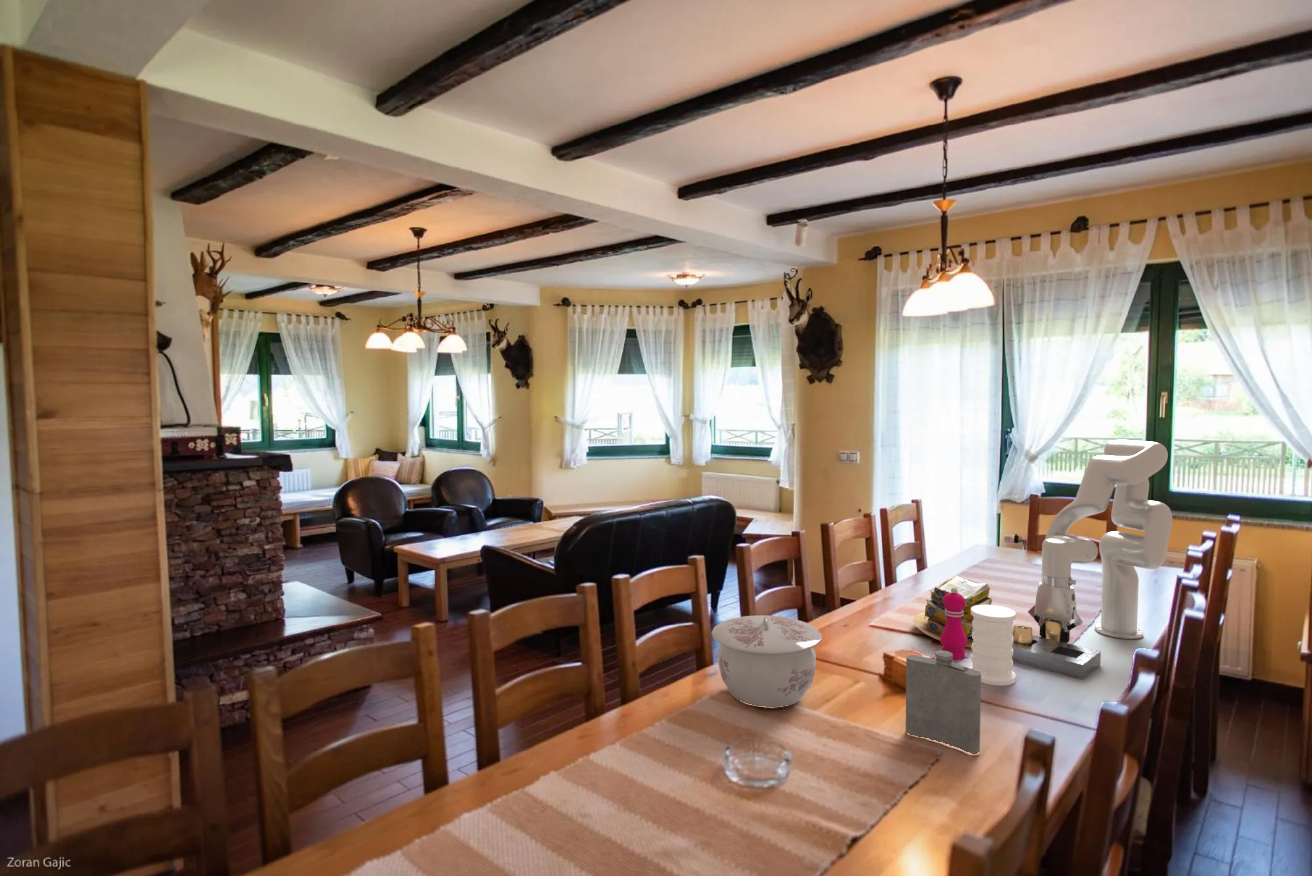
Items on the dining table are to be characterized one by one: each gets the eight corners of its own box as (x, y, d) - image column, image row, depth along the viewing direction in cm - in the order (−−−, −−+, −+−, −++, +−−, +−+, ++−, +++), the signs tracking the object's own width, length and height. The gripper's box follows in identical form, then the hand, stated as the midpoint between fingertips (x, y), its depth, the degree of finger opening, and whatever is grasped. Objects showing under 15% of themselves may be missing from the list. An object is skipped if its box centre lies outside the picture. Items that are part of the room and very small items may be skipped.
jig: (1010, 643, 217) (1011, 617, 216) (1100, 665, 199) (1101, 637, 198) (990, 655, 208) (990, 627, 207) (1082, 679, 190) (1083, 650, 189)
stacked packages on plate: (1017, 640, 220) (1018, 586, 218) (957, 653, 209) (958, 597, 208) (953, 617, 242) (954, 568, 241) (896, 628, 232) (897, 577, 231)
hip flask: (903, 733, 162) (904, 647, 161) (910, 727, 165) (911, 642, 164) (976, 757, 151) (978, 665, 150) (983, 750, 154) (984, 659, 153)
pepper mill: (969, 661, 203) (970, 591, 202) (942, 659, 205) (943, 590, 203) (964, 652, 210) (965, 584, 209) (937, 650, 212) (938, 583, 210)
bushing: (1048, 642, 217) (1049, 616, 216) (1066, 647, 213) (1067, 620, 213) (1041, 646, 214) (1042, 620, 213) (1060, 651, 210) (1060, 624, 209)
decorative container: (969, 682, 189) (970, 615, 188) (966, 666, 200) (967, 602, 199) (1018, 688, 185) (1020, 619, 184) (1013, 671, 196) (1014, 606, 195)
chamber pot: (753, 732, 164) (752, 643, 162) (692, 688, 188) (691, 610, 186) (847, 705, 176) (847, 623, 175) (778, 667, 201) (778, 594, 199)
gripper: (1092, 584, 208) (1090, 645, 209) (1030, 573, 221) (1029, 631, 222) (1083, 589, 203) (1081, 652, 204) (1020, 577, 216) (1019, 637, 217)
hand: (1054, 640), depth 213 cm, fingers closed on bushing, 5 cm apart
